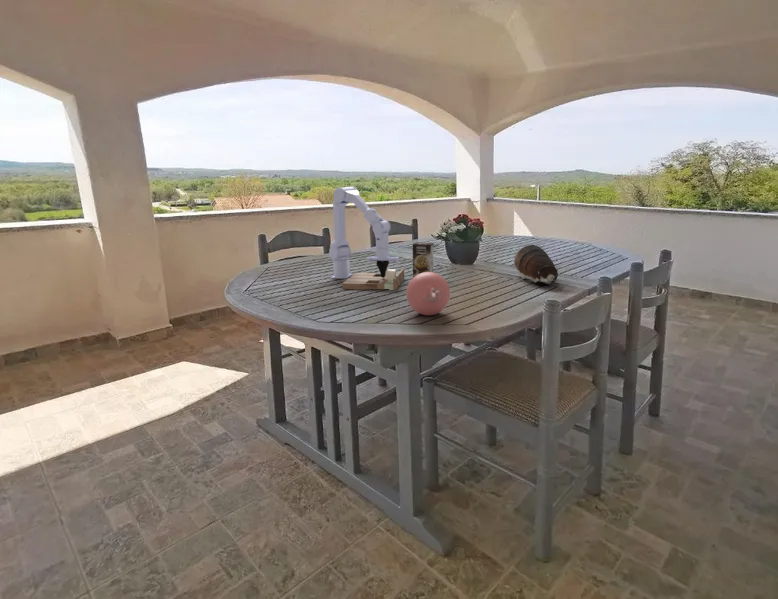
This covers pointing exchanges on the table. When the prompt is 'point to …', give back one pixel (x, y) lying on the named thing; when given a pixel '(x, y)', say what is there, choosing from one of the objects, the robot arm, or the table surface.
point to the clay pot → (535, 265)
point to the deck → (373, 281)
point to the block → (390, 274)
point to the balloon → (428, 293)
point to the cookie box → (422, 258)
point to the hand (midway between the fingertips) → (383, 277)
